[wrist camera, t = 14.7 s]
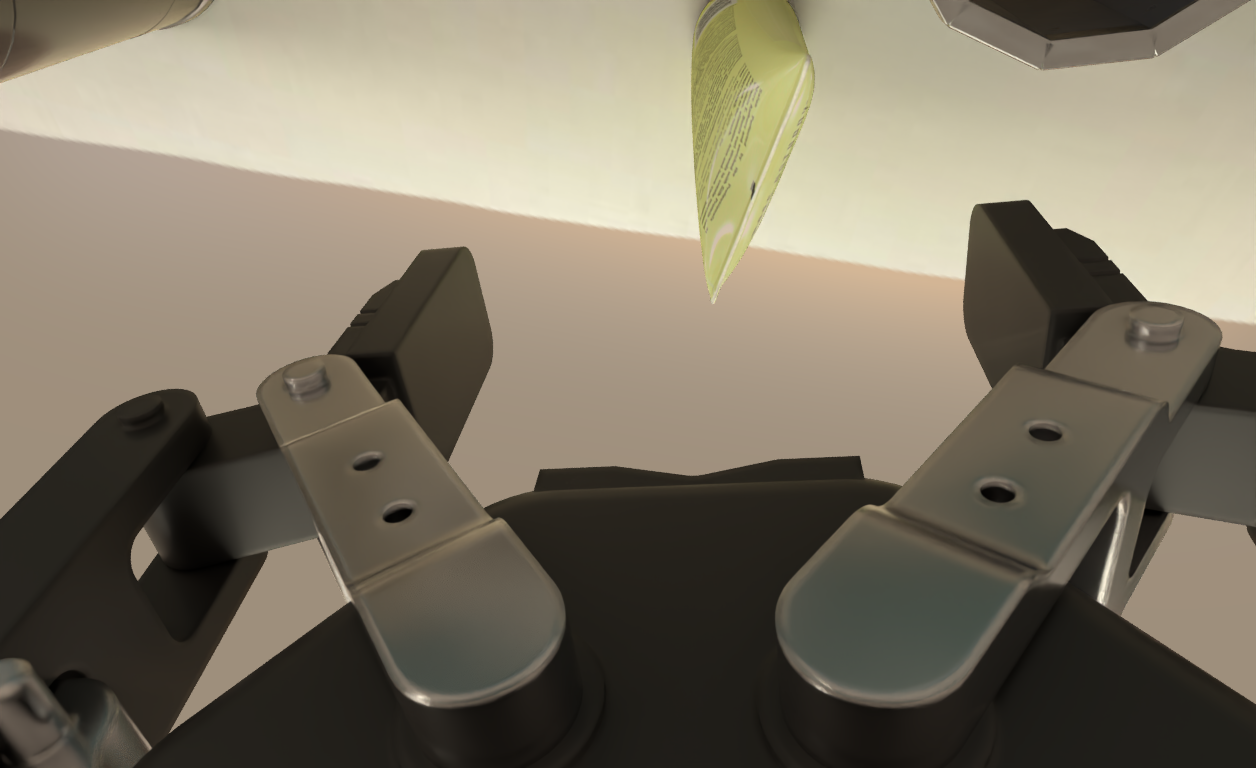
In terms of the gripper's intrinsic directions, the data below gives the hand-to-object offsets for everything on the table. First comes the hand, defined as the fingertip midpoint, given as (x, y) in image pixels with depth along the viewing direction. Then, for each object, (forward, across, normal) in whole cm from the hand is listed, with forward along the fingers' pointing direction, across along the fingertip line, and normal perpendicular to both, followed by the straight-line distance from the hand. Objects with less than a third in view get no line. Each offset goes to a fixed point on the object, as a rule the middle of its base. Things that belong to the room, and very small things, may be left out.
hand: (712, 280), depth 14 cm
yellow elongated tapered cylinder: (+30, -1, +2) cm, 30 cm away
